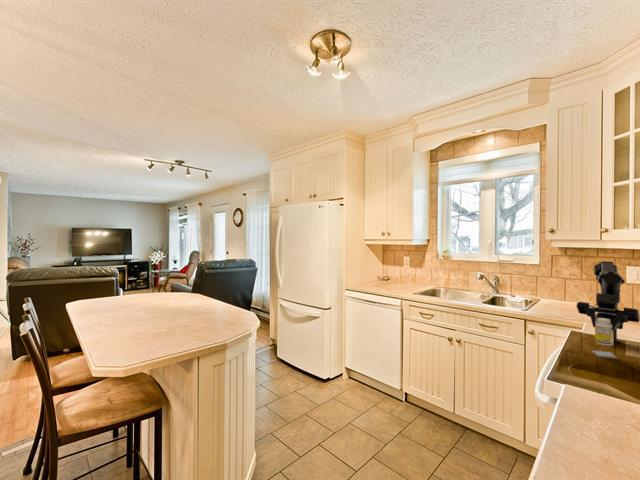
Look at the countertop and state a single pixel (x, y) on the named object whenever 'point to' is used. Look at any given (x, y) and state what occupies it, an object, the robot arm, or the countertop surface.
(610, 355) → the slate coaster
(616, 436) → the countertop surface
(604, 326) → the supplement bottle
